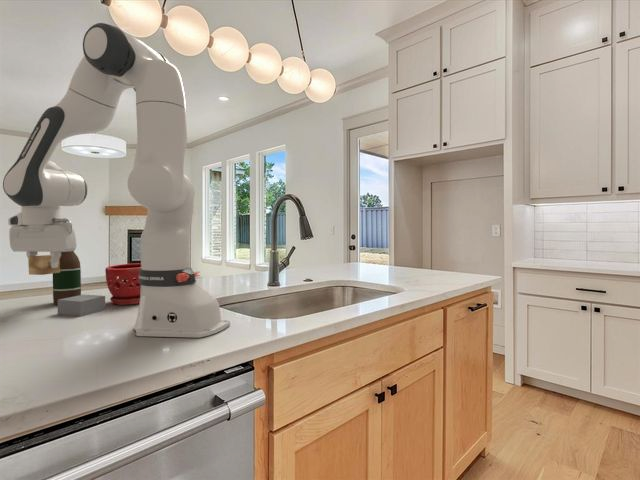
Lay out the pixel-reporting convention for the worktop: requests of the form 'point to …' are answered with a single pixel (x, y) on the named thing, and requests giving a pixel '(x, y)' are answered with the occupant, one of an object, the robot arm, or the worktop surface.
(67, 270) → the beer bottle
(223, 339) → the worktop surface
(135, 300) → the plant pot
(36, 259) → the oak cube
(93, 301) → the block
